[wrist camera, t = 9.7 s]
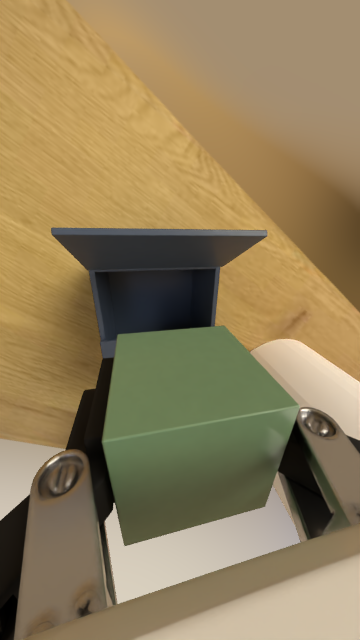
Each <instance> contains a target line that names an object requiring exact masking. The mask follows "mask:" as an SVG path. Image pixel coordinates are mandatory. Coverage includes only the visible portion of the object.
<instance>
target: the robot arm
mask: <svg viewBox="0 0 360 640" xmlns="http://www.w3.org/2000/svg"><path fill="white" fill-rule="evenodd" d="M113 362H114V357H112V358H103V360H102V364H101V368H100V372H99V376H98V381H97V385H96V389H90V390H85V391H84V392H83V395H82V398H81V401H80V405H79V408H78V411H77V414H76V418H75V421H74V424H73V427H72V431H71V434H70V437H69V441H68V444H67V447H66V450H65V451H62V452H60V453H58V454H56V455H55V456H53V457H52V458H50V459H49V460H48V461H47V462H45V463H44V465H43V466H42V467H41V468H40V469H39V470H38V472H37V474H36V476H35V477H34V479H33V483H32V486H31V491H30V495H29V496H27V497H26V498H25V499H24V500H23V501H22V502H21V503H20V504H19V505H17V506H16V507H15V508H14V509H13V510H12V511H11V512H10V513H8V515H6V516H5V517H4V518H3V519H2V520H1V521H0V640H360V440H357V439H355V438H353V437H350V436H348V435H346V434H345V433H344V432H343V430H342V429H341V428H340V426H339V425H338V424H337V422H336V421H335V420H334V419H333V418H332V417H330V416H329V415H328V414H326V413H324V412H322V411H321V410H318V409H315V408H311V407H301V408H299V411H298V414H297V417H296V420H295V422H294V425H293V428H292V431H291V434H290V437H289V439H288V442H287V445H286V448H285V451H284V454H283V457H282V459H281V462H280V465H279V468H278V475H279V478H280V481H281V484H282V487H283V490H284V493H285V496H286V499H287V502H288V505H289V508H290V511H291V514H292V517H293V520H294V523H295V526H296V529H297V532H298V536H299V539H300V542H301V543H298V544H295V545H292V546H290V547H286V548H283V549H280V550H277V551H274V552H271V553H268V554H265V555H262V556H259V557H256V558H253V559H250V560H247V561H244V562H241V563H238V564H235V565H232V566H229V567H226V568H223V569H220V570H217V571H214V572H211V573H208V574H205V575H203V576H200V577H196V578H193V579H191V580H188V581H185V582H182V583H179V584H176V585H173V586H170V587H167V588H164V589H161V590H158V591H155V592H152V593H149V594H146V595H144V596H141V597H138V598H135V599H132V600H129V601H126V602H123V603H120V604H117V598H116V592H115V585H114V579H113V572H112V565H111V560H110V552H109V546H108V539H107V533H106V526H105V520H106V518H107V517H108V516H109V514H110V513H111V512H112V510H113V503H115V500H114V496H113V491H112V487H111V482H110V477H109V473H108V468H107V463H106V459H105V454H104V450H103V445H102V436H103V429H104V423H105V416H106V409H107V402H108V396H109V389H110V382H111V375H112V369H113Z"/></svg>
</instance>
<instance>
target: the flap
mask: <svg viewBox="0 0 360 640" xmlns="http://www.w3.org/2000/svg"><path fill="white" fill-rule="evenodd" d="M51 232H52V235H53V236H54V237H55V238H56V239H57V240H58V241H59V242H60V243H61V244H62V245H63V246H64V247H65V248H66V249H67V250H68V251H69V252H70V253H71V254H72V255H73V256H74V257H75V258H76V259H77V260H78V261H79V262H80V263H81V264H82V265H83V266H84V267H85V268H86V269H87V270H106V269H146V268H185V267H223V266H224V265H226V264H227V263H229V262H230V261H232V260H233V259H234V258H236V257H237V256H239V255H240V254H242V253H243V252H245V251H246V250H248V249H249V248H251V247H252V246H253V245H255V244H256V243H258V242H259V241H261V240H262V239H264V238H265V237H267V230H197V229H116V228H51Z"/></svg>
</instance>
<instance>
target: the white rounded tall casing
mask: <svg viewBox="0 0 360 640" xmlns="http://www.w3.org/2000/svg"><path fill="white" fill-rule="evenodd" d="M250 353H251V354H252V356H253V357H254V358H255V359H256V360H257V361H258V362H259V363H260V364H261V365H262V366H263V367H264V368H265V369H266V370H267V371H268V372H269V374H270V375H271V376H272V377H273V378H274V379H275V380H276V381H277V382H278V383H279V384H280V385H281V386H282V387H283V388H284V389H285V391H286V392H287V393H288V394H289V395H290V396H291V397H292V398H293V399H294V400H295V401H296V402H297V403H298V404H299V406H300V408H301V407H311V408H315V409H318V410H321V411H322V412H324V413H326V414H328V415H329V416H330V417H332V418H333V419H334V420H335V421H336V422H337V424H338V425H339V426H340V428H341V429H342V430H343V432H344V433H345V434H346V435H348V436H350V437H353V438H355V439H357V440H360V382H359V381H357V380H356V379H354V378H353V377H351V376H350V375H348V374H347V373H346V372H344V371H343V370H341V369H340V368H338V367H337V366H335V365H334V364H332V363H331V362H329V361H328V360H327V359H325V358H324V357H322V356H321V355H319V354H318V353H316V352H315V351H313V350H312V349H310V348H309V347H308V346H306V345H305V344H303V343H302V342H299V341H297V340H292V339H279V340H274V341H270V342H268V343H265V344H262V345H261V346H259V347H257V348H255V349H253V350H252V351H251V352H250ZM273 486H274V488H275V490H276V491H277V493H278V495H279V497H280V499H281V501H282V503H283V504H284V506H285V508H286V510H287V512H288V513H289V515H290V517H291V519H292V521H293V523H294V520H293V517H292V514H291V511H290V508H289V505H288V502H287V499H286V496H285V493H284V490H283V487H282V484H281V481H280V478H279V475H278V471H277V474H276V476H275V479H274V482H273ZM294 524H295V523H294ZM295 527H296V526H295Z"/></svg>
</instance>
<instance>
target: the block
mask: <svg viewBox="0 0 360 640" xmlns="http://www.w3.org/2000/svg"><path fill="white" fill-rule="evenodd" d="M299 408H300V406H299V404H298V403H297V402H296V401H295V400H294V399H293V398H292V397H291V396H290V395H289V394H288V393H287V392H286V391H285V389H284V388H283V387H282V386H281V385H280V384H279V383H278V382H277V381H276V380H275V379H274V378H273V377H272V376H271V375H270V374H269V372H268V371H267V370H266V369H265V368H264V367H263V366H262V365H261V364H260V363H259V362H258V361H257V360H256V359H255V358H254V357H253V356H252V354H251V353H250V352H249V351H248V350H247V349H246V348H245V347H244V346H243V345H242V344H241V343H240V342H239V341H238V340H237V339H236V338H235V336H234V335H233V334H232V333H231V332H230V331H229V330H228V329H227V328H226V327H225V326H214V327H202V328H190V329H177V330H165V331H153V332H141V333H129V334H118V335H117V342H116V348H115V355H114V362H113V369H112V375H111V382H110V389H109V396H108V402H107V409H106V416H105V423H104V429H103V436H102V445H103V450H104V454H105V459H106V463H107V468H108V473H109V477H110V482H111V487H112V491H113V496H114V500H115V505H116V509H117V514H118V519H119V524H120V528H121V533H122V537H123V541H124V545H125V546H127V545H130V544H134V543H137V542H141V541H145V540H148V539H152V538H155V537H159V536H162V535H166V534H169V533H173V532H177V531H180V530H184V529H187V528H191V527H194V526H198V525H201V524H205V523H208V522H212V521H216V520H219V519H223V518H226V517H230V516H233V515H237V514H240V513H244V512H248V511H251V510H255V509H258V508H262V507H265V505H266V502H267V499H268V496H269V493H270V491H271V488H272V485H273V482H274V479H275V476H276V474H277V471H278V468H279V465H280V462H281V459H282V457H283V454H284V451H285V448H286V445H287V442H288V439H289V437H290V434H291V431H292V428H293V425H294V422H295V420H296V417H297V414H298V411H299Z"/></svg>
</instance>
